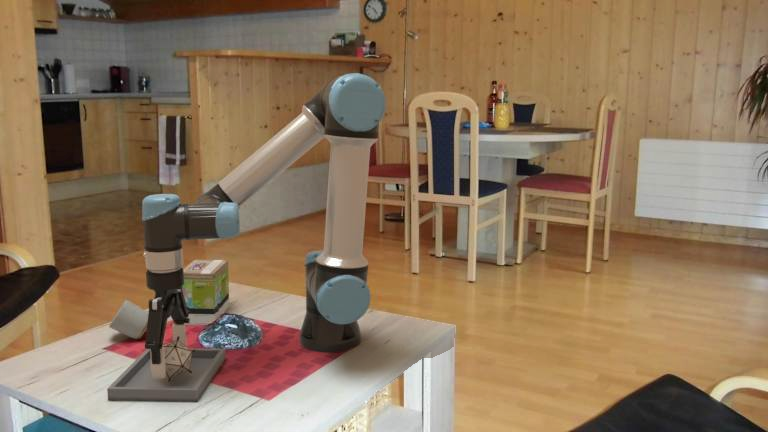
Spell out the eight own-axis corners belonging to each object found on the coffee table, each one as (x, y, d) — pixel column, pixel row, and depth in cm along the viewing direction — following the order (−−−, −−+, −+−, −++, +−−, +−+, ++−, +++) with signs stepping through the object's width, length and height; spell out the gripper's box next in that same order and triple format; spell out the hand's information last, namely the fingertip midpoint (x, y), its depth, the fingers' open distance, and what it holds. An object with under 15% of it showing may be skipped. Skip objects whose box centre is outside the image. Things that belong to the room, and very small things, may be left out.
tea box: (217, 327, 181) (214, 272, 178) (178, 327, 181) (175, 272, 178) (230, 309, 195) (228, 258, 193) (195, 309, 196) (192, 258, 193)
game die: (152, 392, 144) (155, 363, 138) (148, 359, 150) (150, 330, 144) (196, 386, 148) (200, 357, 142) (190, 354, 154) (194, 325, 148)
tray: (225, 359, 159) (225, 349, 159) (197, 401, 138) (196, 390, 137) (148, 358, 160) (147, 347, 159) (108, 400, 138) (107, 388, 138)
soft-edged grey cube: (136, 347, 171) (148, 327, 168) (105, 332, 169) (116, 312, 165) (149, 319, 180) (161, 300, 177) (120, 305, 178) (132, 285, 174)
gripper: (167, 254, 157) (172, 342, 160) (122, 284, 132) (130, 388, 136) (199, 254, 156) (204, 343, 160) (161, 285, 132) (167, 389, 136)
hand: (170, 364), depth 148 cm, fingers open, 13 cm apart
